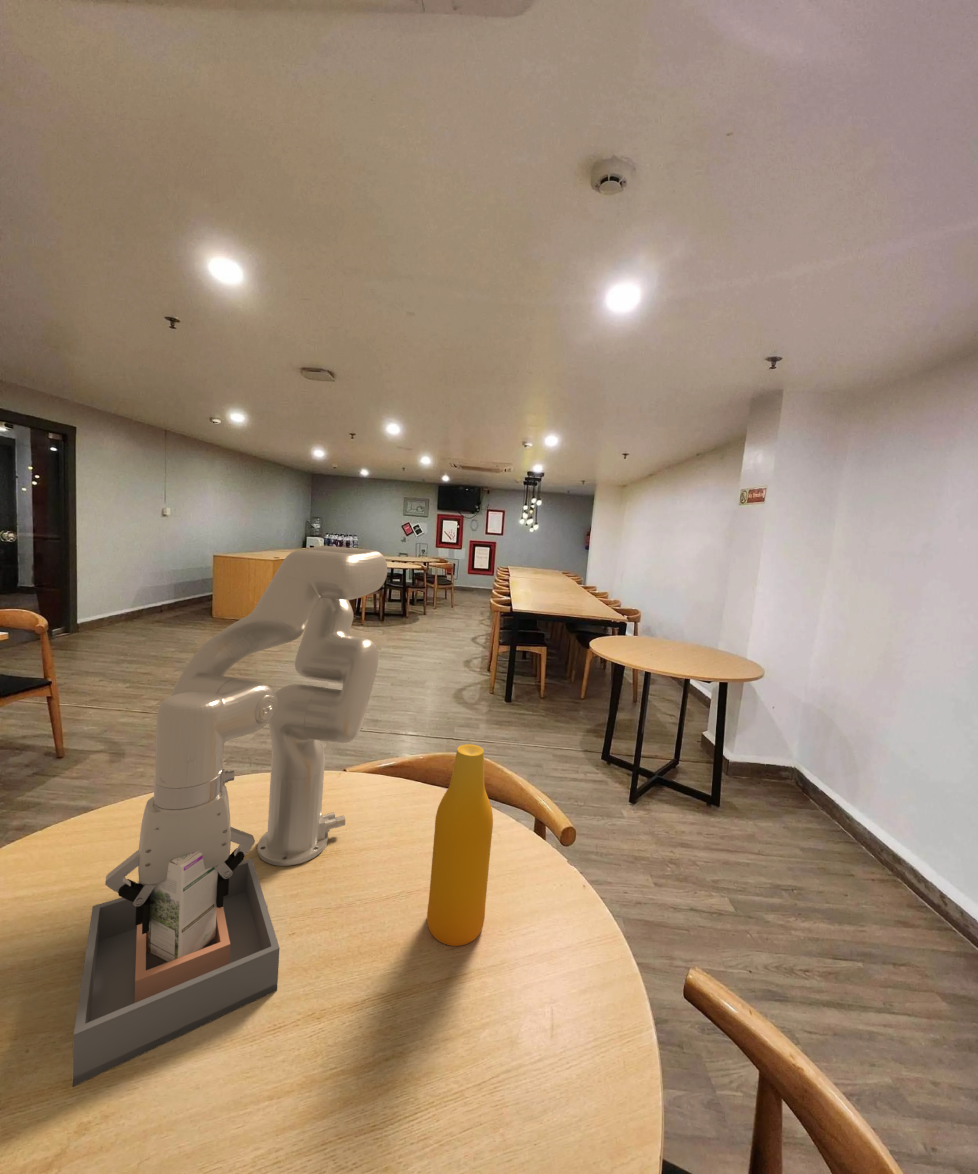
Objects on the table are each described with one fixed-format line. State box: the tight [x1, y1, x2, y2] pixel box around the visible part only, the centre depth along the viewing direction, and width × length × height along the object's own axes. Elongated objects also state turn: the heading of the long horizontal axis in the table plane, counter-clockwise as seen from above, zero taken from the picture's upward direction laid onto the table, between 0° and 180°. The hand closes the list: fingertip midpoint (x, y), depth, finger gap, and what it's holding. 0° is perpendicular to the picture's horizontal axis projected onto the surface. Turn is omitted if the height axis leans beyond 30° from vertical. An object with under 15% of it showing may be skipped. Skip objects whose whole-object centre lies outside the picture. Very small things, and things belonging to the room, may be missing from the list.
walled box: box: [72, 857, 281, 1088], centre depth 61 cm, size 20×20×6 cm
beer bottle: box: [426, 743, 494, 947], centre depth 72 cm, size 9×9×29 cm
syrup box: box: [148, 851, 218, 962], centre depth 61 cm, size 6×6×14 cm
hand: (183, 912), depth 61 cm, fingers closed on syrup box, 7 cm apart
